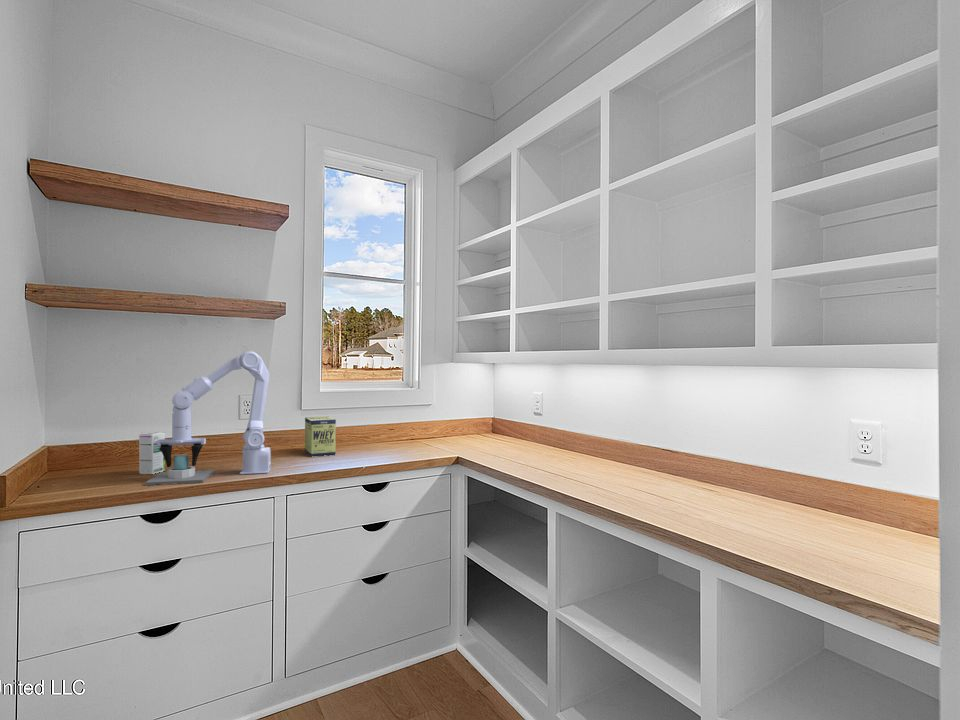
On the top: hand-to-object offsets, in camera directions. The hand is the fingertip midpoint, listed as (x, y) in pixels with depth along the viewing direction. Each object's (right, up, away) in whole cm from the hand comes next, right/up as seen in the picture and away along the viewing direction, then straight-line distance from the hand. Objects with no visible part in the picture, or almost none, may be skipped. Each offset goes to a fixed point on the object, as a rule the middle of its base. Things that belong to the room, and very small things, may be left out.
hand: (181, 466), depth 177 cm
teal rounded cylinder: (0, -3, 0) cm, 3 cm away
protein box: (+32, -5, +50) cm, 60 cm away
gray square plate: (0, -4, 0) cm, 4 cm away
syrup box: (-16, -5, +9) cm, 19 cm away
